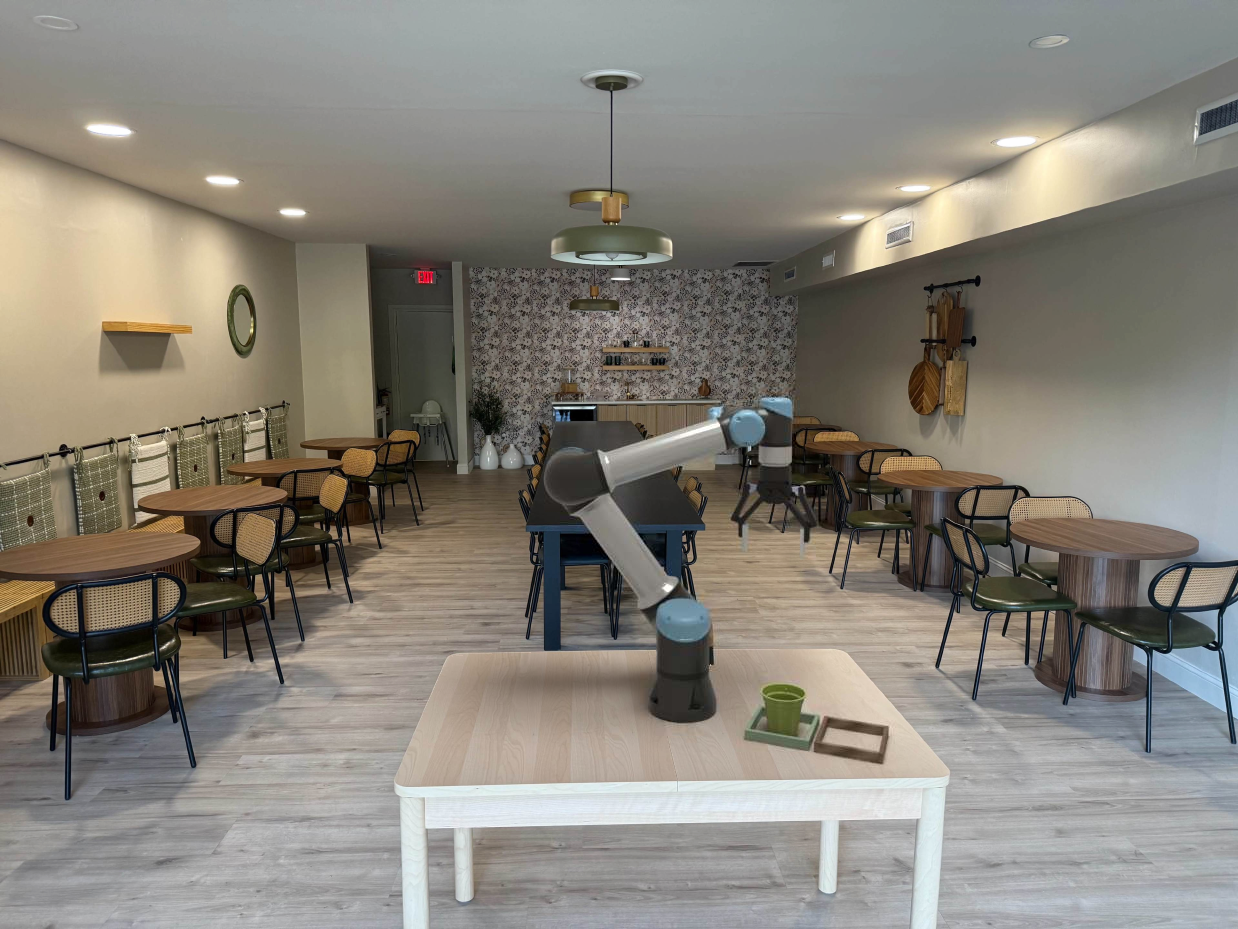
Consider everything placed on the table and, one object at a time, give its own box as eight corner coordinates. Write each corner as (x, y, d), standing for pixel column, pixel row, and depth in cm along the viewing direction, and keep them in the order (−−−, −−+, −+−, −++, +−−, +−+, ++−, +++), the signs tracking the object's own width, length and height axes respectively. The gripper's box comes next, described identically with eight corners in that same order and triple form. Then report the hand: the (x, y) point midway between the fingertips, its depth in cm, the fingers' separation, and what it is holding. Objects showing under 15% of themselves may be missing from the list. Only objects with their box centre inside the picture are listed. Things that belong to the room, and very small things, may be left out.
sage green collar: (744, 739, 165) (744, 730, 165) (759, 713, 177) (759, 705, 177) (808, 750, 160) (808, 741, 160) (819, 723, 172) (819, 714, 171)
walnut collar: (813, 751, 159) (814, 742, 159) (824, 724, 171) (824, 715, 171) (882, 764, 154) (882, 754, 154) (888, 735, 166) (888, 726, 166)
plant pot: (750, 729, 169) (751, 689, 168) (781, 717, 175) (781, 679, 174) (784, 746, 162) (784, 704, 161) (815, 733, 167) (816, 693, 166)
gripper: (832, 464, 186) (829, 554, 189) (727, 460, 196) (726, 545, 199) (827, 468, 179) (824, 561, 182) (718, 463, 189) (717, 552, 192)
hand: (773, 553), depth 190 cm, fingers open, 13 cm apart
